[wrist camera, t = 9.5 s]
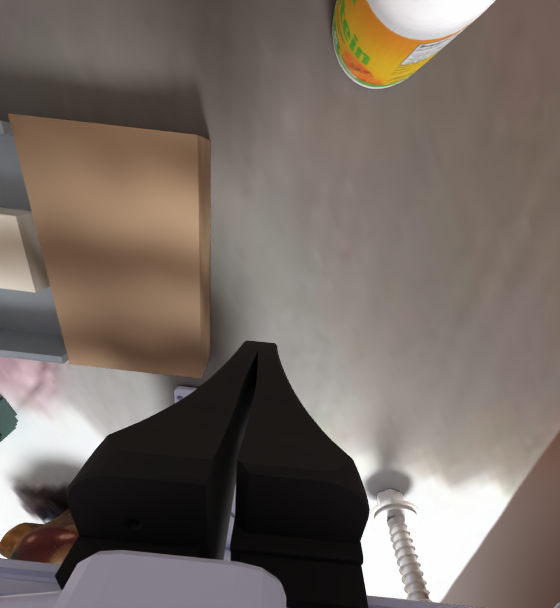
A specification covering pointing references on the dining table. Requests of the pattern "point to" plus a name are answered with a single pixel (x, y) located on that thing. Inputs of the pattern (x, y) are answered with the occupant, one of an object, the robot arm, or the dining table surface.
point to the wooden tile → (20, 252)
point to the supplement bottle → (396, 35)
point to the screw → (401, 538)
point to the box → (21, 304)
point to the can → (6, 419)
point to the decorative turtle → (41, 540)
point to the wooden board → (123, 240)
